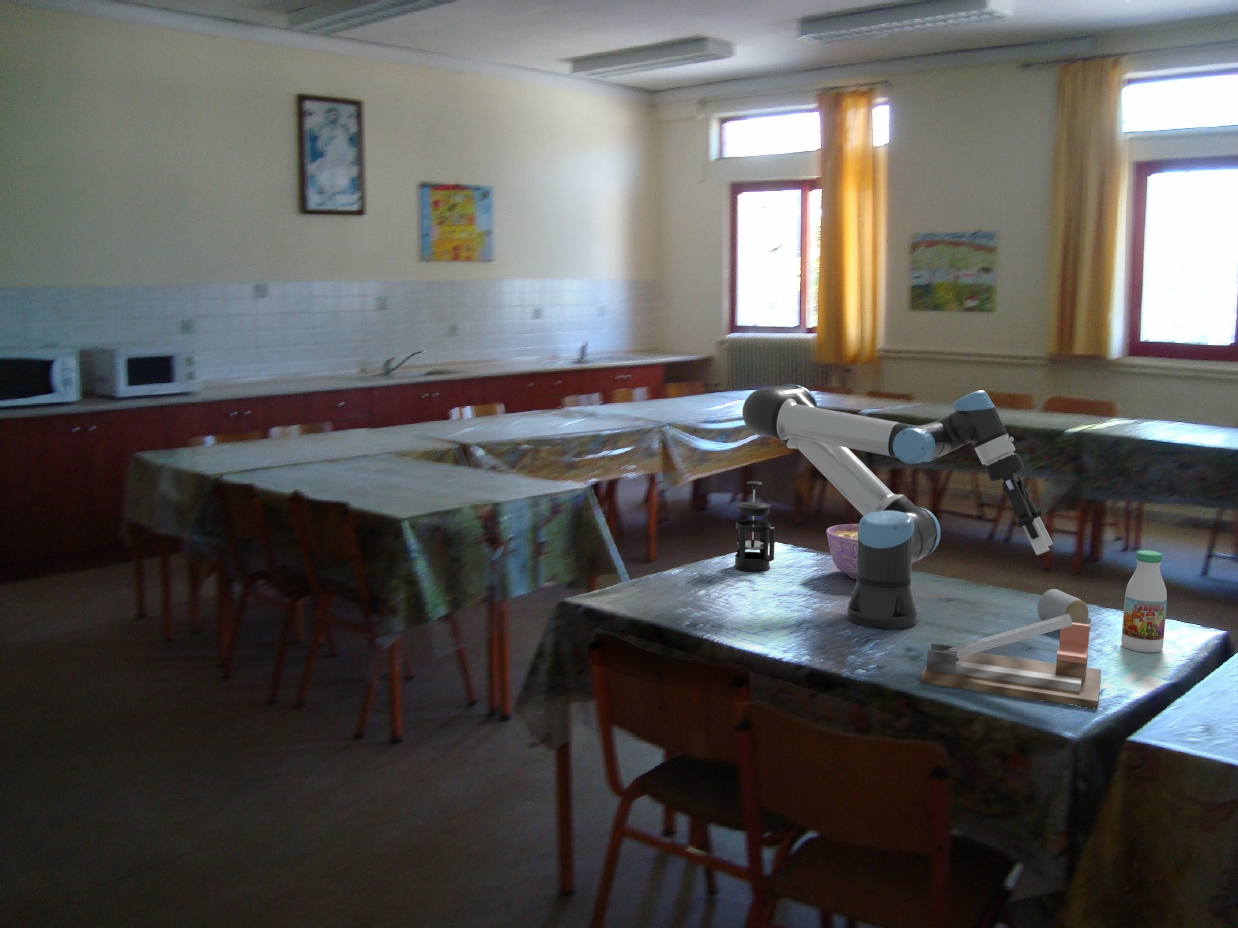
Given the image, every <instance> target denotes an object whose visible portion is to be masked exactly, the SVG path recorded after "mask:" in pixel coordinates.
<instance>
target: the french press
mask: <svg viewBox="0 0 1238 928" xmlns="http://www.w3.org/2000/svg"><path fill="white" fill-rule="evenodd" d="M746 484H747V485H751V486H752V487H751V488H752V490H753V493H752V496H753V497H752V498H753V499H752V501H743V502H739V503H738V502H737V503H736V507H737V513H738V514H739V515H741V516H748V517H752V519H743V520H738V521H736V522H735V529H736V530H737V542H736V547H737V548H736V553H735V554H734V555H735V556H734V559H735V560H734V566H733V567H734V569H735V570H737V571H740V572H745V573H763V572H767V571H770V569H771V566H770V562H772V561H775V542H776V541H775V540H776V539H775V537H776V536H775V535H776V529H775V526H771V522H769V521H765V520H758V519H755V517H762V516H767V515H770V508H772V505H771V504H769V503H767V502H759V501H755V499H756V497H755V495H756V489H757V486H761V485H762V484H763V482H761V481H757V480H753V481H752V480H751V481H746ZM747 532H750V533H751V535H752V536H751V538H752V539H750V540H747V539H746V537H747V535H746V534H747ZM755 533H759V540H755V539H754V535H755ZM746 550H751V551H746ZM752 550H753V551H752ZM757 550H758V551H757Z"/></svg>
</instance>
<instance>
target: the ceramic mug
mask: <svg viewBox="0 0 1238 928" xmlns="http://www.w3.org/2000/svg"><path fill="white" fill-rule="evenodd" d="M1066 614H1069V615H1070V617H1071V620H1072V622H1073V623H1081V624H1089V625H1090V626H1091V623H1092V619H1091V618H1089V607H1088V605H1087V603H1086V602H1085V601H1083V600H1082V599H1080V598H1078V597H1076V596H1073V595H1070V594H1069V593H1066V592H1064V591H1062V590H1059V589H1057V588H1050V589H1048V590H1046V591H1045V592H1044V593H1043V594H1042V595H1041V596H1040V599H1039V601H1038V604H1037V615H1038V618H1039V619H1040V621H1045V620H1048V619H1052V618H1055V617H1059V616H1062V615H1066Z"/></svg>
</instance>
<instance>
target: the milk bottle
mask: <svg viewBox="0 0 1238 928" xmlns="http://www.w3.org/2000/svg"><path fill="white" fill-rule="evenodd" d="M1162 560H1163V554H1162V553H1161V552H1159V551H1154V550H1147V549H1143V550H1138V551H1137V552H1136V560H1135V562H1136V564H1137V565H1136V568H1135V570H1134V573H1133V575H1132V576H1131V577H1130V579H1129V581H1128V583H1127V585H1126V588H1125V593H1124V594H1125V595H1124V602H1123V604H1124V605H1123V614H1122V627H1121V628H1122V629H1121V641H1120V643H1121V646H1123V648H1125V649H1127V650H1130V651H1132V652H1133V651H1134V652H1138V653H1148V654H1150V653H1154V654H1155V653H1159V652H1162V650H1163V647H1164V640H1165V630H1166V629H1165V626H1166V625H1165V624H1166V616H1167V615H1166V614H1167V604H1168V603H1167V602H1168V601H1167V599H1168V596H1167V595H1168V594H1167V593H1168V592H1167V588H1166V584H1165V582H1164V579H1163V577H1162V573H1161V569H1160V568H1161V567H1160V566H1161V565H1162Z"/></svg>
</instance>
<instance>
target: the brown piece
mask: <svg viewBox="0 0 1238 928" xmlns="http://www.w3.org/2000/svg"><path fill="white" fill-rule="evenodd" d="M930 646H931V647H930V649H927V653H926V666H925V668H924V670H923V671H922V672H921V674H920V683H921V684H922V683H923V684H928V685H934V686H940V687H941V686H942V687H949V688H954V689H961V690H967V689H971V690H970V691H973V690H976V691H975V692H980V691H982V692H981V693H987V694H993V693H995V694H994V695H999V694H1000V696H1006V697H1014V698H1019V697H1020V699H1024V700H1025V699H1028V700H1033V701H1038V700H1043V701H1042V702H1045V701H1048V702H1047V703H1051V702H1054V703H1053V704H1058V703H1060V704H1059V705H1065V704H1073V705H1077V706H1076V707H1078V706H1081V707H1080V708H1084V707H1087V708H1086V709H1091V708H1095V709H1094V710H1098V709H1097V708H1098V706H1099V700H1100V699H1099V698H1100V689H1101V677H1102V669H1098V668H1092V667H1088V661H1087V662H1086V664H1081V663H1074V662H1067V661H1059V660H1057V659H1056V663H1055V662H1048V661H1042V660H1041V661H1040V660H1034V659H1027V658H1021V657H1020V658H1019V657H1013V656H1005V655H998V654H990V653H983V652H977V653H974V654H970V655H967V656H963V657H960V658H956V653H951V652H944V651H941V650H945V649H948V648H951V647H955V646H956V645H951V644H943V643H937V642H931V645H930ZM1088 655H1089V654H1088ZM1088 655H1087V659H1088V658H1089V656H1088Z"/></svg>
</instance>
